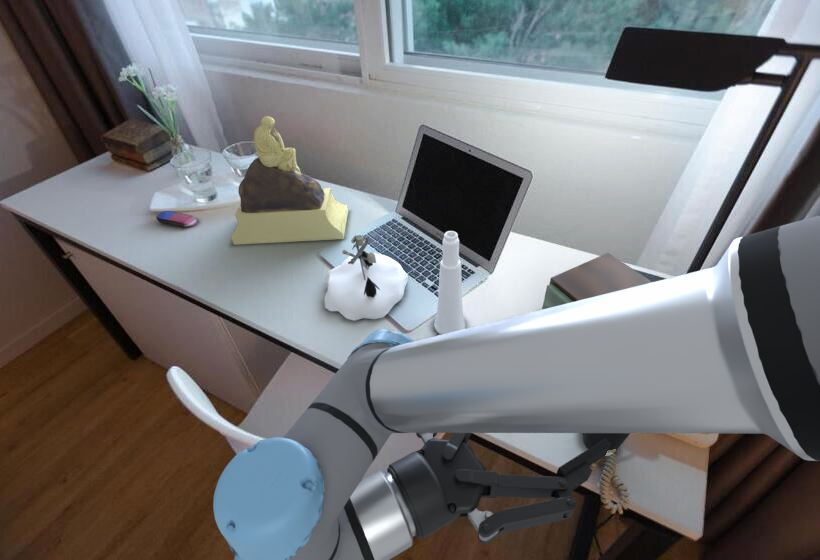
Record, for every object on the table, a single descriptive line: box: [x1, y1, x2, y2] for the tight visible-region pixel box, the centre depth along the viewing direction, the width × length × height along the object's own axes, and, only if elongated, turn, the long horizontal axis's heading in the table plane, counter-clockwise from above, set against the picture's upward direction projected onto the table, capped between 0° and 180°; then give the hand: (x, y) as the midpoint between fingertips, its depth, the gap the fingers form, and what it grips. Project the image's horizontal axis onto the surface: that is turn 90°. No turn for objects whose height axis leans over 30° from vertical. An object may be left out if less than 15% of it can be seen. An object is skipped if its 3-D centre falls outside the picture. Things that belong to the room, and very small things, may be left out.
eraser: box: [155, 210, 198, 229], centre depth 119 cm, size 11×4×2 cm, turn 71°
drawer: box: [541, 284, 575, 310], centre depth 80 cm, size 18×11×8 cm, turn 118°
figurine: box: [324, 234, 409, 322], centre depth 89 cm, size 20×18×16 cm
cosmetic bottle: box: [433, 230, 466, 335], centre depth 78 cm, size 6×6×22 cm
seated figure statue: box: [230, 115, 349, 245], centre depth 105 cm, size 28×13×30 cm, turn 91°
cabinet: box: [548, 252, 653, 301], centre depth 81 cm, size 15×13×10 cm
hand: (568, 407), depth 50 cm, fingers open, 10 cm apart
